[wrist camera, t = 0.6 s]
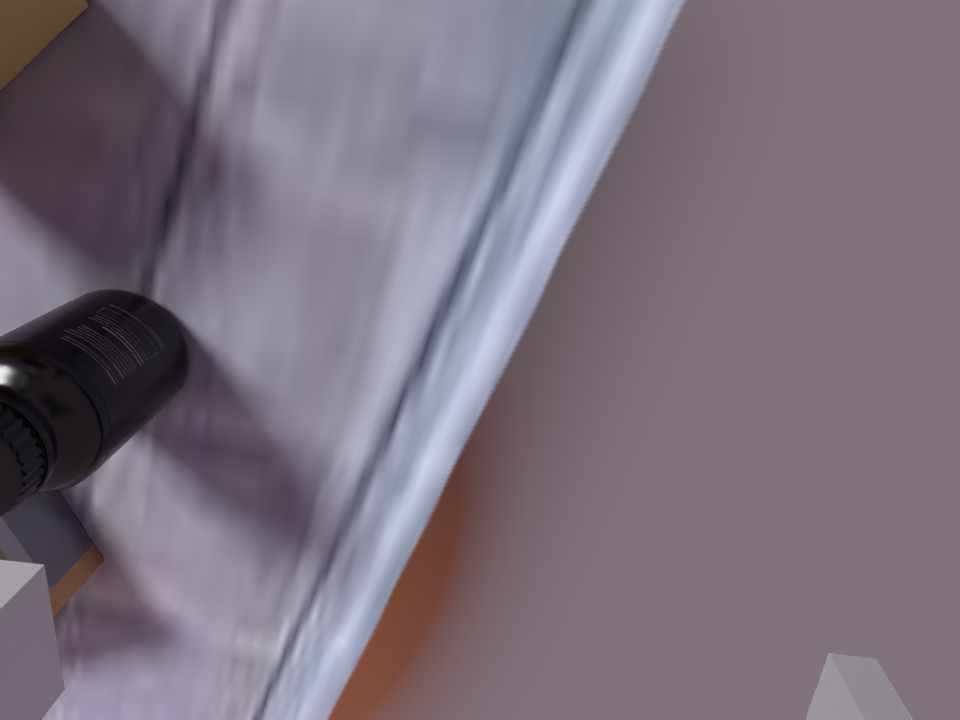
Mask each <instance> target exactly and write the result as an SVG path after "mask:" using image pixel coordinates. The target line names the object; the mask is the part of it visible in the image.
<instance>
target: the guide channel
mask: <svg viewBox="0 0 960 720" xmlns="http://www.w3.org/2000/svg"><path fill="white" fill-rule="evenodd" d="M0 560H7V561H16V562H25V563H34V564H42V565H45V571H46V577H47V584H48V590H49V596H50V602H51V608H52V614H53V618H54V616H55V615H56V614H57V613H58V612H59V611H60V610H61V608H62V607H63V606H64V605H65V604H66V603H67V602H68V600H69V599H70V598H71V597H72V596H73V595H74V594H75V592H76V591H77V590H78V589H79V588H80V587H81V586H82V585H83V583H84V582H85V581H86V580H87V579H88V578H89V577H90V575H91V574H92V573H93V572H94V571H95V570H96V569H97V567H98V566H99V565H100V564H101V563H102V562H103V561H104V559H103V558H102V556H101V555H100V553H99V551H98V550H97V548H96V547H95V545H94V544H93V542H92V541H91V539H90V538H89V536H88V535H87V533H86V531H85V530H84V528H83V527H82V525H81V524H80V522H79V521H78V519H77V518H76V516H75V515H74V513H73V511H72V510H71V508H70V507H69V505H68V504H67V502H66V501H65V499H64V498H63V496H62V495H61V493H60V491H55V492H48V493H36V494H34V495H33V496H31V497H29V498H27V499H25V500H24V501H23V502H22V503H21V504H20V505H18V506H17V507H16V508H15V509H14V510H12V511H10V512H7V513H6V514H5V515H3V516H2V517H0Z"/></svg>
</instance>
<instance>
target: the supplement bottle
mask: <svg viewBox="0 0 960 720" xmlns="http://www.w3.org/2000/svg"><path fill="white" fill-rule="evenodd" d="M187 370H188V354H187V349H186V345H185V342H184V339H183V337H182V335H181V332H180V331H179V329H178V327H177V326H176V324H175V323H174V322H173V320H172V319H171V318H170V317H169V316H168V315H167V314H166V313H165V312H164V311H163V310H162V309H161V308H160V307H158V306H157V305H156V304H154V303H153V302H151V301H149V300H148V299H146V298H144V297H142V296H139V295H137V294H134V293H131V292H127V291H122V290H99V291H94V292H91V293H88V294H85V295H83V296H80V297H78V298H76V299H74V300H72V301H70V302H68V303H66V304H64V305H62V306H60V307H58V308H56V309H54V310H52V311H50V312H48V313H46V314H44V315H42V316H40V317H38V318H36V319H34V320H32V321H30V322H28V323H26V324H24V325H22V326H21V327H19V328H17V329H15V330H13V331H11V332H9V333H7V334H5V335H3V336H1V337H0V517H2V516H3V515H5V514H6V513H7V512H10V511H12V510H14V509H15V508H16V507H17V506H18V505H20V504H21V503H22V502H23V501H24V500H25V499H27V498H29V497H31V496H33V495H34V494H36V493H48V492H55V491H60V490H64V489H67V488H70V487H72V486H75V485H77V484H79V483H80V482H82V481H83V480H85V479H86V478H88V477H89V476H90V475H91V474H93V473H94V472H95V471H96V470H97V469H98V468H99V467H101V466H102V465H103V464H104V463H105V462H106V461H107V460H108V459H109V458H110V457H111V456H112V455H113V454H115V453H116V452H117V451H118V450H119V449H120V448H121V447H122V446H123V445H124V444H125V443H126V442H127V441H129V440H130V439H131V438H132V437H133V436H134V435H135V434H136V433H137V432H138V431H139V430H140V429H141V428H142V427H144V426H145V425H146V424H147V423H148V422H149V421H150V420H151V419H152V418H153V417H154V416H155V415H156V414H158V413H159V412H160V411H161V410H162V409H163V408H164V407H165V406H166V405H167V404H168V403H169V402H170V401H171V400H172V399H173V398H174V397H175V396H176V395H177V393H178V392H179V391H180V389H181V387H182V386H183V384H184V381H185V378H186V375H187Z"/></svg>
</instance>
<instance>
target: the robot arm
mask: <svg viewBox="0 0 960 720" xmlns="http://www.w3.org/2000/svg"><path fill="white" fill-rule="evenodd" d="M64 689H65V688H64V682H63V675H62V669H61V663H60V657H59V651H58V645H57V639H56V633H55V626H54V620H53V614H52V608H51V602H50V596H49V590H48V584H47V577H46V571H45V565H42V564H34V563H25V562H16V561H7V560H0V720H41V719H42V718H43V717H44V716H45V714H46V713H47V712H48V710H49V709H50V708H51V706H52V705H53V704H54V702H55V701H56V700H57V698H58V697H59V696H60V694H61V693H62V692H63V690H64ZM806 720H913V719H912V717H911V716H910V714H909V712H908V711H907V709H906V708H905V706H904V704H903V703H902V701H901V699H900V698H899V696H898V694H897V693H896V691H895V690H894V688H893V686H892V685H891V683H890V681H889V680H888V678H887V676H886V675H885V673H884V672H883V670H882V668H881V667H880V665H879V663H878V662H877V660H876V659H874V658H864V657H856V656H847V655H839V654H830V653H829V654H828V657H827V660H826V663H825V665H824V668H823V671H822V674H821V677H820V680H819V683H818V686H817V688H816V691H815V694H814V697H813V700H812V703H811V706H810V708H809V711H808V714H807V717H806Z"/></svg>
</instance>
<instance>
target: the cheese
mask: <svg viewBox="0 0 960 720" xmlns="http://www.w3.org/2000/svg"><path fill="white" fill-rule="evenodd" d="M88 5H89V4H88V2H87V1H86V0H0V91H1V90H2V89H3V88H4V87H5V86H6V85H7V84H8V83H9V82H10V81H11V80H12V79H13V78H14V77H16V76H17V75H18V74H19V73H20V72H21V71H22V70H23V69H24V68H25V67H26V66H27V65H28V64H29V63H30V62H31V61H32V60H33V59H34V58H35V57H36V56H37V55H38V54H39V53H40V52H41V51H42V50H43V49H44V48H45V47H46V46H47V45H48V44H49V43H50V42H51V41H52V40H53V39H54V38H55V37H56V36H57V35H58V34H59V33H60V32H61V31H62V30H63V29H65V28H66V27H67V26H68V25H69V24H70V23H71V22H72V21H73V20H75V19H76V18H77V17H78V16H79V15H80V14H81V13H82V12H83V11H84V10H86V9H87V8H88Z"/></svg>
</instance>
